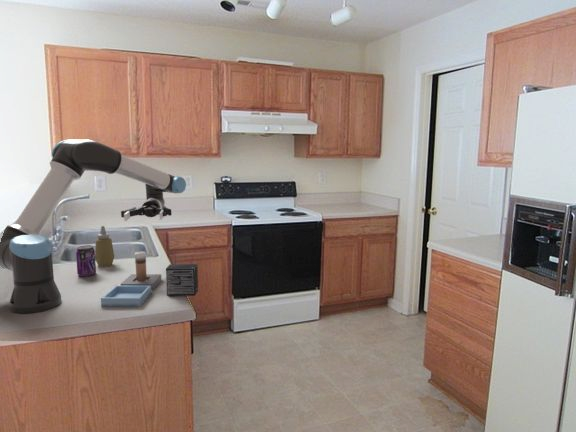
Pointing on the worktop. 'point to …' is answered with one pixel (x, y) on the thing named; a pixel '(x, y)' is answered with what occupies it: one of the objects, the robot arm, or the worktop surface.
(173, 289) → the small box
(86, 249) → the beverage can
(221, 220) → the worktop surface
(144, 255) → the brown and white cylinder
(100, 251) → the squeeze bottle
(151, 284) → the holder
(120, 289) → the parts tray
